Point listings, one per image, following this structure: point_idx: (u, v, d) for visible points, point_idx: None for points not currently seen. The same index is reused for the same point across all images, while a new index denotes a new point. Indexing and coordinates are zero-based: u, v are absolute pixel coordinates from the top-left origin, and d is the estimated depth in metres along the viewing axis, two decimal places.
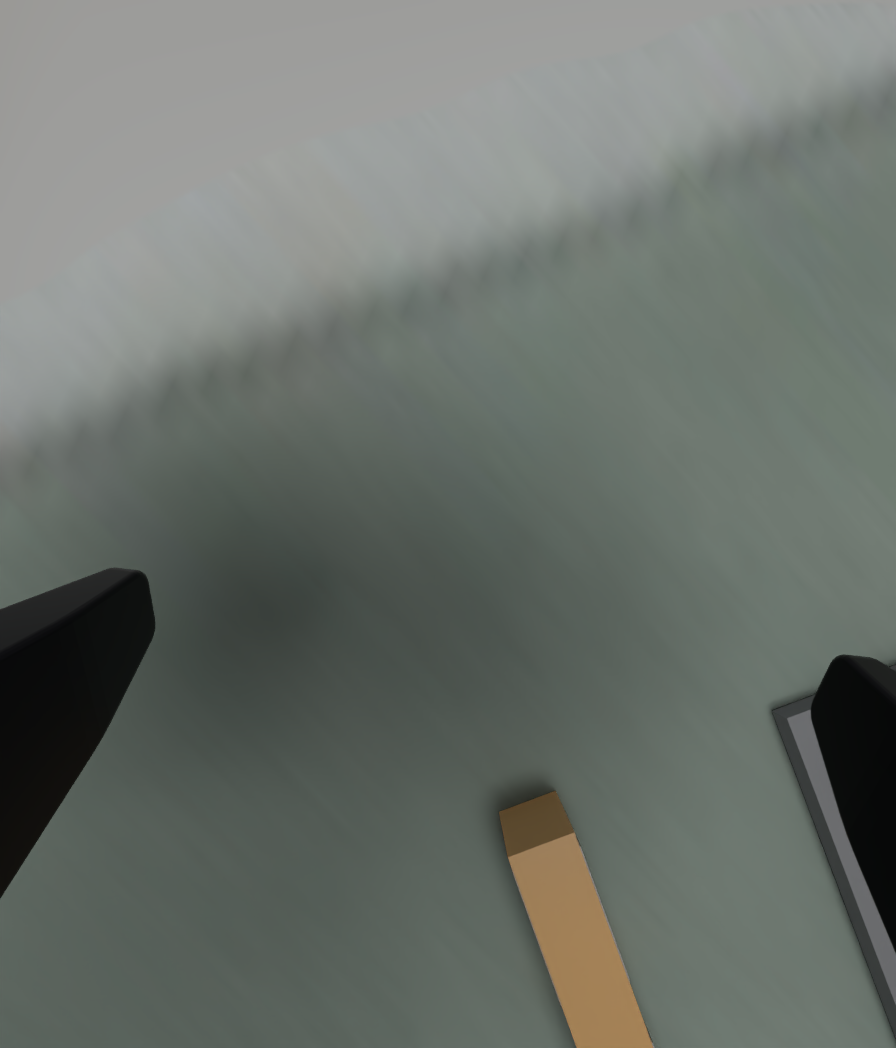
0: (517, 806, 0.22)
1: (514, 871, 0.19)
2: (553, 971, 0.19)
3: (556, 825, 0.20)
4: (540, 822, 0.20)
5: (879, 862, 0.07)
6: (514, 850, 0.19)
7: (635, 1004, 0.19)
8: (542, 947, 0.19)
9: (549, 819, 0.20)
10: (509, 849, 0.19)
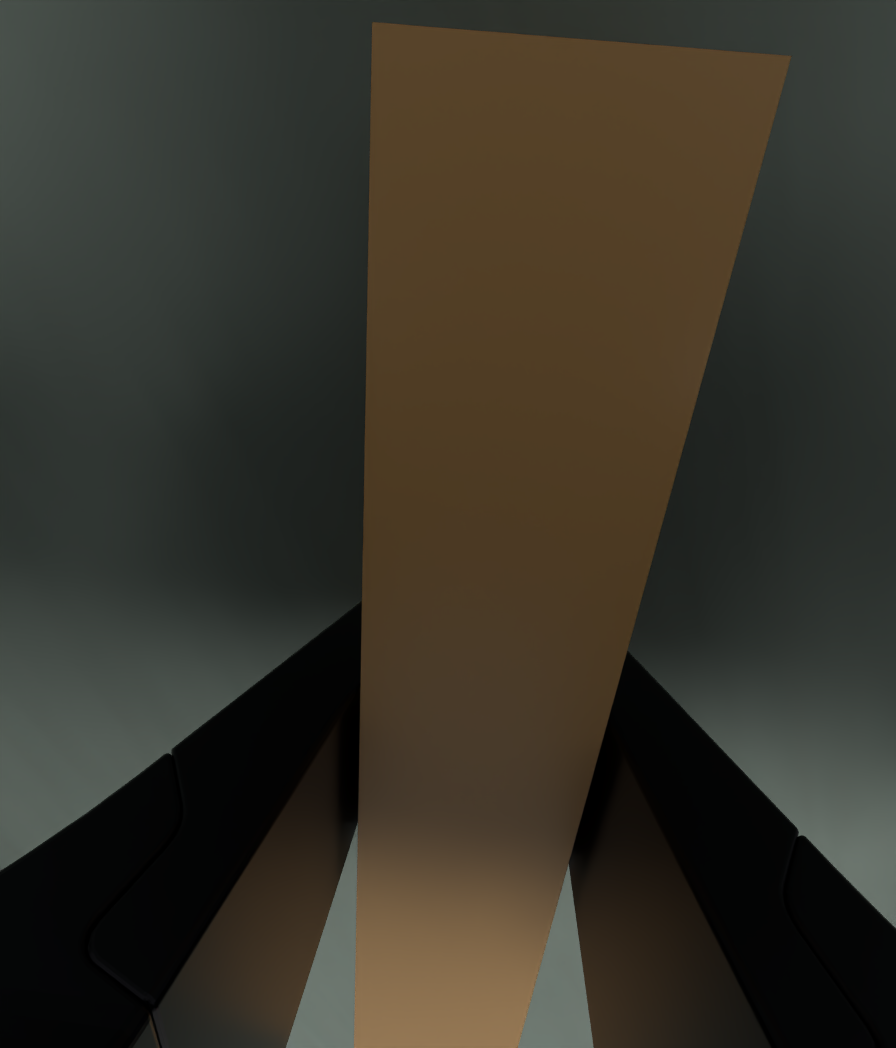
0: None
1: (377, 124, 0.03)
2: (376, 598, 0.05)
3: None
4: None
5: None
6: None
7: (584, 780, 0.06)
8: (370, 510, 0.05)
9: None
10: None
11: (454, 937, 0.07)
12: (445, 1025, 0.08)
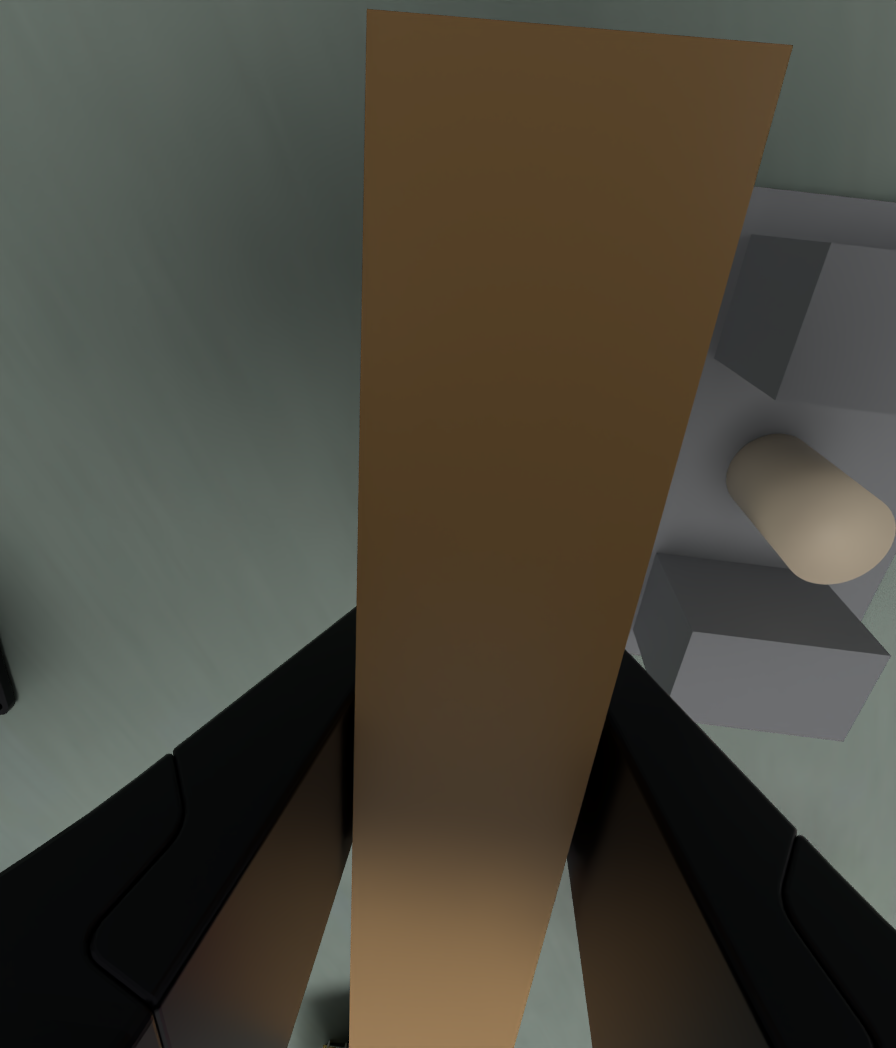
0: None
1: (372, 113, 0.03)
2: (372, 596, 0.05)
3: None
4: None
5: None
6: None
7: (581, 780, 0.06)
8: (365, 507, 0.05)
9: None
10: None
11: (450, 939, 0.07)
12: (440, 1026, 0.08)
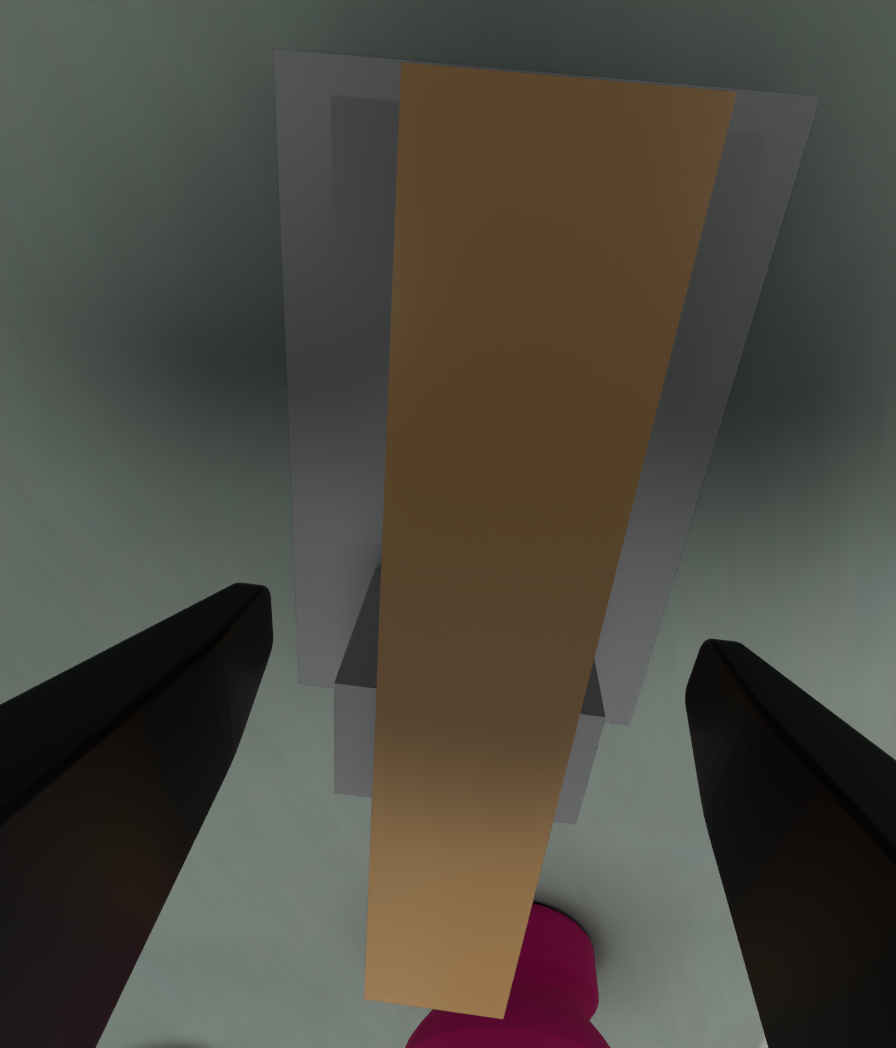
0: None
1: (403, 143, 0.04)
2: (395, 547, 0.06)
3: None
4: None
5: (725, 842, 0.07)
6: None
7: (574, 713, 0.07)
8: (391, 468, 0.05)
9: None
10: None
11: (458, 865, 0.08)
12: (449, 953, 0.09)
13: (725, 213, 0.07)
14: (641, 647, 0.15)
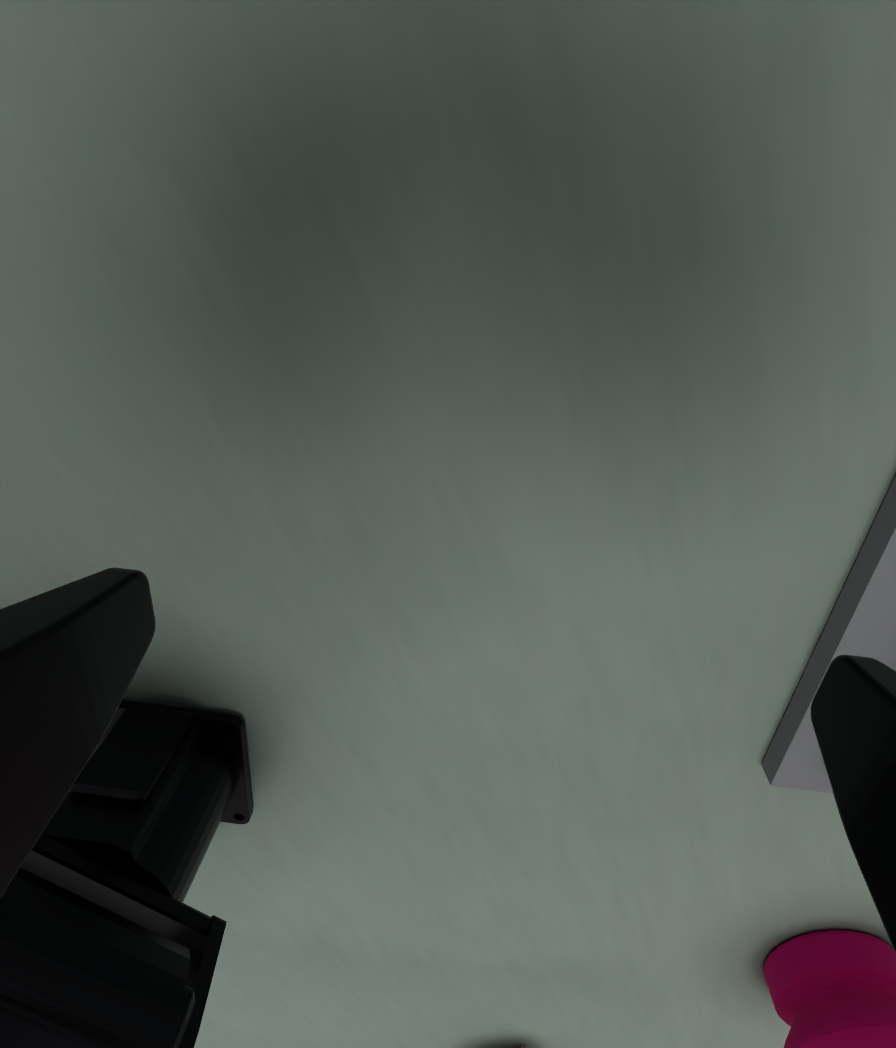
0: None
1: None
2: None
3: None
4: None
5: (879, 862, 0.07)
6: None
7: None
8: None
9: None
10: None
11: None
12: None
13: None
14: None
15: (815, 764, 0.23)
